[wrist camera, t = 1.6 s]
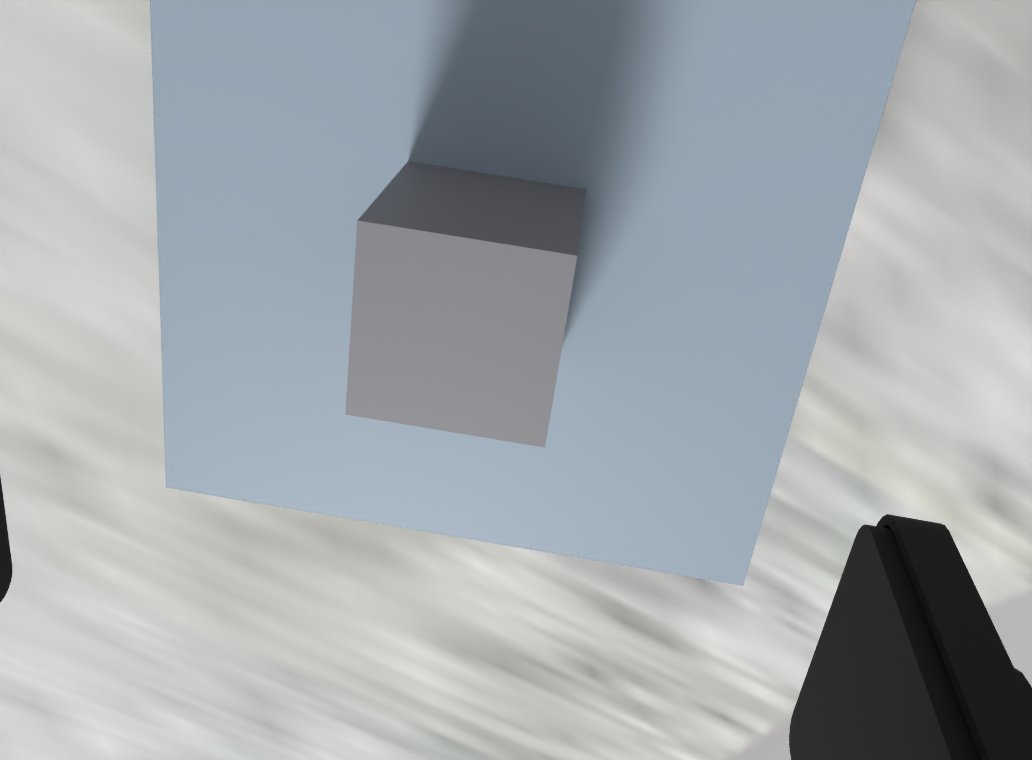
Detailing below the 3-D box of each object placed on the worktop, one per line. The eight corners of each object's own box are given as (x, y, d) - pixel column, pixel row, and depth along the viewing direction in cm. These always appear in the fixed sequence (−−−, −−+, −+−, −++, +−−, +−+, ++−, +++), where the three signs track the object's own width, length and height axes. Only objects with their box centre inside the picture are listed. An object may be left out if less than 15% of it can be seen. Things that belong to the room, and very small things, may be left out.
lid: (738, 559, 23) (765, 714, 19) (183, 465, 24) (81, 595, 19) (917, -59, 17) (1018, -46, 13) (169, -169, 18) (14, -195, 13)
